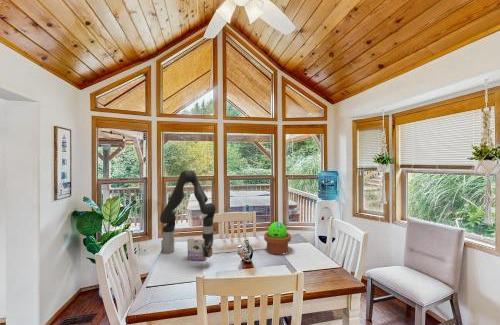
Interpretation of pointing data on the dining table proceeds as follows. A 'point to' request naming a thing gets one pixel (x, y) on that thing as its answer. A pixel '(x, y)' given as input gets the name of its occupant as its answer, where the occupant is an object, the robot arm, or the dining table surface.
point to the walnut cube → (209, 252)
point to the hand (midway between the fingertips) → (207, 255)
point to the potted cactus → (277, 238)
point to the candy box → (195, 249)
